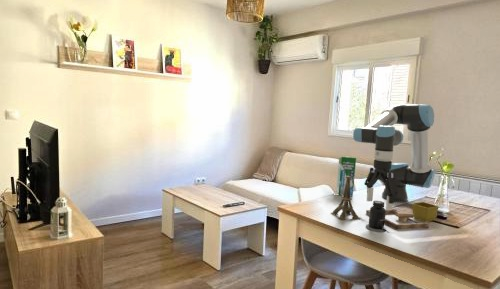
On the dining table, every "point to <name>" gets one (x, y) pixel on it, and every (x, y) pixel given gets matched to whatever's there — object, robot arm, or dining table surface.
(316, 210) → the dining table surface
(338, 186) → the milk carton
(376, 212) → the supplement bottle
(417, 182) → the robot arm
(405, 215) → the offcut top
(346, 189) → the eiffel tower
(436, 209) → the flower pot
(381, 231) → the coaster
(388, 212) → the frame
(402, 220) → the offcut middle
